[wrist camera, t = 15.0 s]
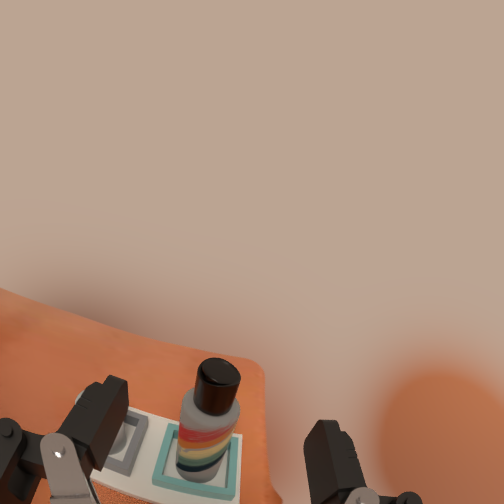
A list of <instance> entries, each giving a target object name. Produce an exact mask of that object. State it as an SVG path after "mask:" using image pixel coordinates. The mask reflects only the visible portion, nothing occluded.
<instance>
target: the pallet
mask: <svg viewBox="0 0 504 504" xmlns="http://www.w3.org/2000/svg"><path fill="white" fill-rule="evenodd" d="M83 392H84V391H82V392H81V393H80V394H79V395H78V396H77V398H76V401H75V405H76V402H77V401H78V399H79V398H80V397H81V395H82V393H83ZM179 423H180V422H178V421H174V420H170V419H167V418H163V417H160V416H156V415H153V414H150V413H147V412H144V411H141V410H138V409H135V408H132V407H128V412H127V415H126V417H125V419H124V421H123V423H122V426H121V428H120V430H119V432H118V434H117V437H116V439H115V441H114V443H113V445H112V448H111V450H110V452H109V455H108V457H107V459H106V461H105V464H104V466H103V468H102V471H101V472H100V471H98V470H95V469H93V471H92V473H91V475H90V478H91V480H92V481H93V482H96V483H98V484H100V485H102V486H105V487H107V488H110V489H112V490H115V491H117V492H120V493H122V494H125V495H128V496H131V497H134V498H137V499H140V500H143V501H146V502H149V503H153V504H239V498H240V475H241V453H242V435H241V434H234V433H233V434H232V437H231V440H230V442H229V445H228V447H227V450H226V453H225V455H224V458H223V460H222V463H221V465H220V468H219V470H218V472H217V474H216V476H215V477H214V478H213V479H212V480H211V481H209V482H206V483H195V482H190V481H187V480H185V479H184V478H182V477H181V476H180V475H179V473H178V472H177V469H176V451H177V441H178V432H179Z"/></svg>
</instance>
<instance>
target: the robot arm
mask: <svg viewBox="0 0 504 504" xmlns="http://www.w3.org/2000/svg"><path fill="white" fill-rule="evenodd" d="M128 407H129V399H128V384H127V381H126V380H123V379H120V378H118V377H115V376H113V375H109V376H108V377H107V378H106V380H105V381H104V383H103V384H101V383H98V382H94V383H93V384H91V385H89V386H88V387H86V389H85V390H84V392H83V393H82V395H81V397H80V398H79V399H78V401H77V402H76V405H74V407H73V408H72V410H71V411H70V413H69V414H68V416H67V417H66V419H65V420H64V422H63V424H62V425H61V427H60V428H59V430H58V431H56V432H55V433H50V434H47V435H38V434H35V433H31V432H28V431H25V430H22V429H21V427H20V426H19V424H18V423H17V422H16V421H14V420H12V419H10V418H1V419H0V504H31V502H32V499H33V497H34V494H35V492H36V489H37V487H38V484H39V482H40V480H41V478H44V479H47V480H48V483H49V487H50V490H51V497H50V503H51V504H101V502H100V500H99V498H98V495H97V493H96V490H95V488H94V485H93V483H92V480H91V478H90V475H91V473H92V471H93V469H95V470H98V471H100V472H101V471H102V468H103V466H104V464H105V461H106V459H107V457H108V455H109V452H110V450H111V448H112V445H113V443H114V441H115V439H116V437H117V434H118V432H119V430H120V428H121V426H122V423H123V421H124V419H125V417H126V415H127V412H128ZM304 456H305V463H306V470H307V477H308V483H309V489H310V497H311V504H423V503H422V500H421V498H420V497H419V496H418V495H417V494H416V493H414V492H404V493H402V494H401V495H399V496H398V497H388V496H379V495H378V494H377V493H376V492H375V491H374V490H372V489H370V488H367V486H366V483H365V480H364V477H363V473H362V470H361V467H360V463H359V460H358V459H357V454H356V451H355V447H354V444H353V441H352V439H351V438H350V437H349V435H348V434H347V433H346V432H345V431H340V427H339V424H338V422H337V421H336V420H318V421H317V423H316V424H315V426H314V427H313V429H312V430H311V432H310V433H309V434H308V436H307V437H306V439H305V442H304Z"/></svg>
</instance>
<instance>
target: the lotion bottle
mask: <svg viewBox="0 0 504 504" xmlns="http://www.w3.org/2000/svg"><path fill="white" fill-rule="evenodd" d="M240 380H241V376H240V373H239V371H238V370H237V369H236V368H235V367H234V366H233V365H232V364H231V363H229V362H228V361H226V360H224V359H221V358H209V359H206V360H204V361H203V362H202V363H201V364H200V365H199V367H198V371H197V376H196V382H195V387H194V388H192V389H190V390H189V391H188V392H187V393H186V394H185V395H184V398H183V401H182V407H181V414H180V423H179V432H178V441H177V451H176V469H177V472H178V473H179V475H180V476H181V477H182V478H184V479H185V480H187V481H190V482H195V483H206V482H209V481H211V480H212V479H213V478H214V477H215V476H216V474H217V472H218V470H219V468H220V465H221V463H222V460H223V458H224V455H225V453H226V450H227V447H228V445H229V442H230V440H231V437H232V434H233V432H234V429H235V427H236V424H237V421H238V418H239V415H240V405H239V402H238V401H237V399H236V398H235V396H236V393H237V390H238V387H239V384H240Z"/></svg>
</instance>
